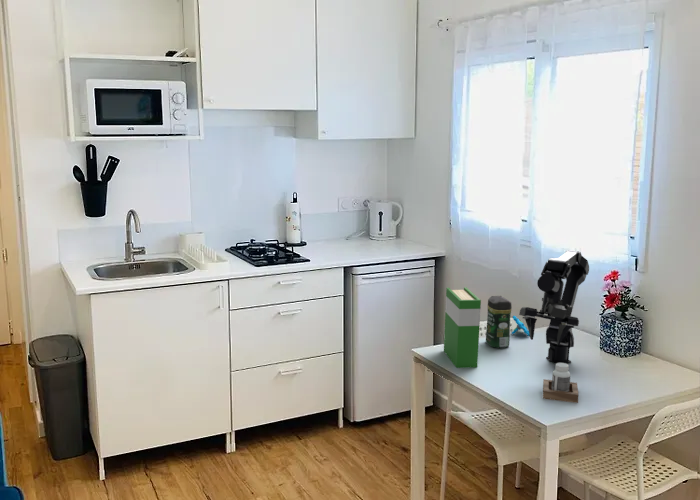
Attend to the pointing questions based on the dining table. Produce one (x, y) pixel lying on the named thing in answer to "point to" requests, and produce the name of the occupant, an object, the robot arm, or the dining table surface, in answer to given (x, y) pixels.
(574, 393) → the socket block
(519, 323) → the blue angled piece
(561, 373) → the pill bottle
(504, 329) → the coffee jar
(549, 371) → the dining table surface
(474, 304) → the hardback book
